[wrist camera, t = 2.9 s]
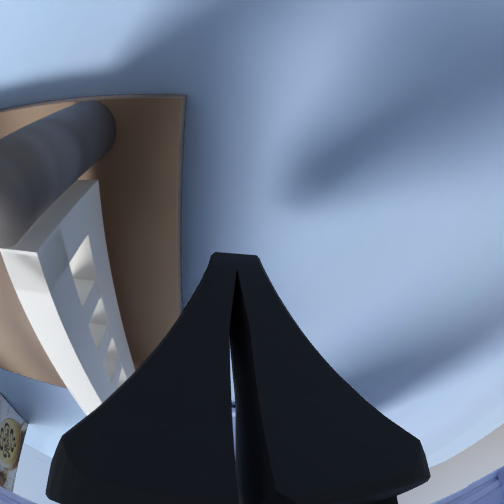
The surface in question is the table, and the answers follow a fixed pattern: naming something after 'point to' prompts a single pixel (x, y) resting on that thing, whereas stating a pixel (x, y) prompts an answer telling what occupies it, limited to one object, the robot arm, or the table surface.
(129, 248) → the board
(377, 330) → the table surface
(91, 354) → the gate
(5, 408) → the coffee box
